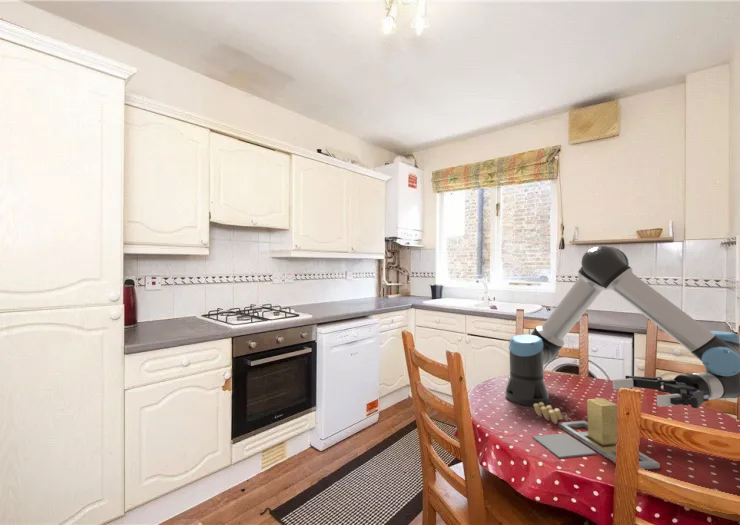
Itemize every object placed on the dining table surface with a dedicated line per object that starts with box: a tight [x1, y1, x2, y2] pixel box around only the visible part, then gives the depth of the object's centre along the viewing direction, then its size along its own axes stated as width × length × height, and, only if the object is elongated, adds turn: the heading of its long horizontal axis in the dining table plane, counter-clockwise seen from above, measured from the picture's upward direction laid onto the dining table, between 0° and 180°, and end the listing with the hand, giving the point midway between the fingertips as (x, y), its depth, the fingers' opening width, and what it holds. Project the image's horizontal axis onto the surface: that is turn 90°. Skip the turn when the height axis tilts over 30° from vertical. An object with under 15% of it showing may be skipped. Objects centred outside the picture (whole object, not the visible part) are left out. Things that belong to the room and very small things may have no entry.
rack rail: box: [557, 420, 660, 470], centre depth 95 cm, size 24×9×1 cm, turn 9°
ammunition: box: [532, 402, 569, 425], centre depth 111 cm, size 5×7×8 cm
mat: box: [532, 432, 597, 459], centre depth 95 cm, size 11×11×1 cm
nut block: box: [586, 397, 618, 448], centre depth 95 cm, size 5×5×12 cm
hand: (634, 392), depth 96 cm, fingers open, 13 cm apart
